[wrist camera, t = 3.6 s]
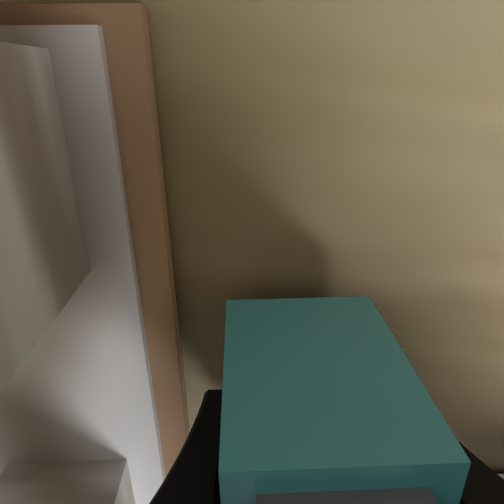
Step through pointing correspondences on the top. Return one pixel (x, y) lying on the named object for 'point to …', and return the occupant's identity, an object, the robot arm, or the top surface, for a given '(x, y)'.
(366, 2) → the top surface
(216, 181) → the top surface
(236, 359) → the module
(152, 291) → the board
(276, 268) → the top surface
